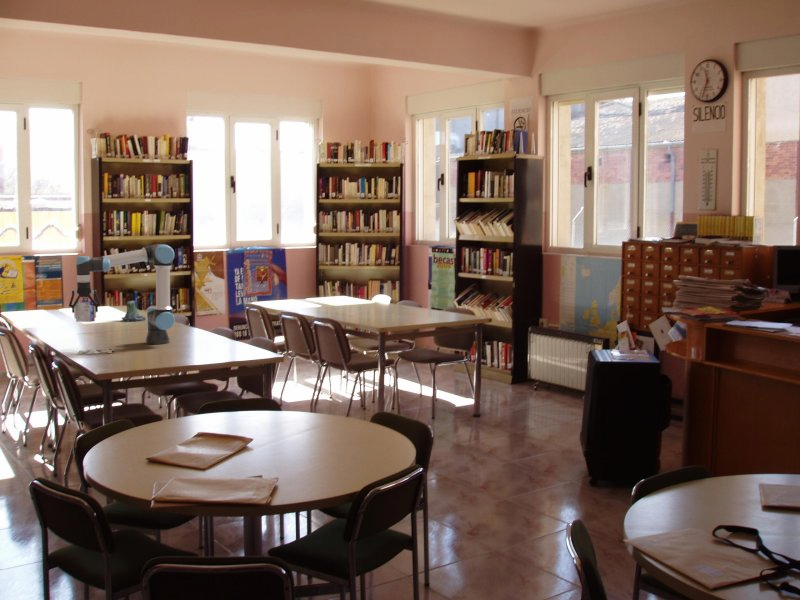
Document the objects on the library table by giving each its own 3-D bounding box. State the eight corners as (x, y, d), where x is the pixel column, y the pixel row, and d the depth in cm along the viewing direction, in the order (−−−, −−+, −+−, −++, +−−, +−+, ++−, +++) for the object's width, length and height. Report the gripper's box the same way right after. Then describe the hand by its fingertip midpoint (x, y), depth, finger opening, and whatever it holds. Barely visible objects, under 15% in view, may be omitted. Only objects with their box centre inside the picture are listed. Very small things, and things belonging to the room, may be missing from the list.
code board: (113, 349, 532) (113, 349, 532) (111, 353, 519) (111, 352, 519) (79, 351, 528) (79, 350, 527) (76, 354, 514) (76, 354, 514)
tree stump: (152, 319, 675) (149, 298, 669) (137, 329, 658) (134, 307, 651) (132, 317, 681) (129, 296, 674) (117, 326, 663) (114, 305, 657)
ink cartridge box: (95, 321, 522) (94, 297, 520) (90, 322, 516) (89, 298, 515) (80, 320, 524) (79, 297, 522) (75, 321, 518) (74, 298, 517)
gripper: (104, 280, 524) (105, 316, 526) (64, 281, 518) (65, 317, 520) (103, 281, 516) (104, 317, 519) (62, 282, 511) (64, 319, 513)
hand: (85, 317), depth 520 cm, fingers closed on ink cartridge box, 11 cm apart
